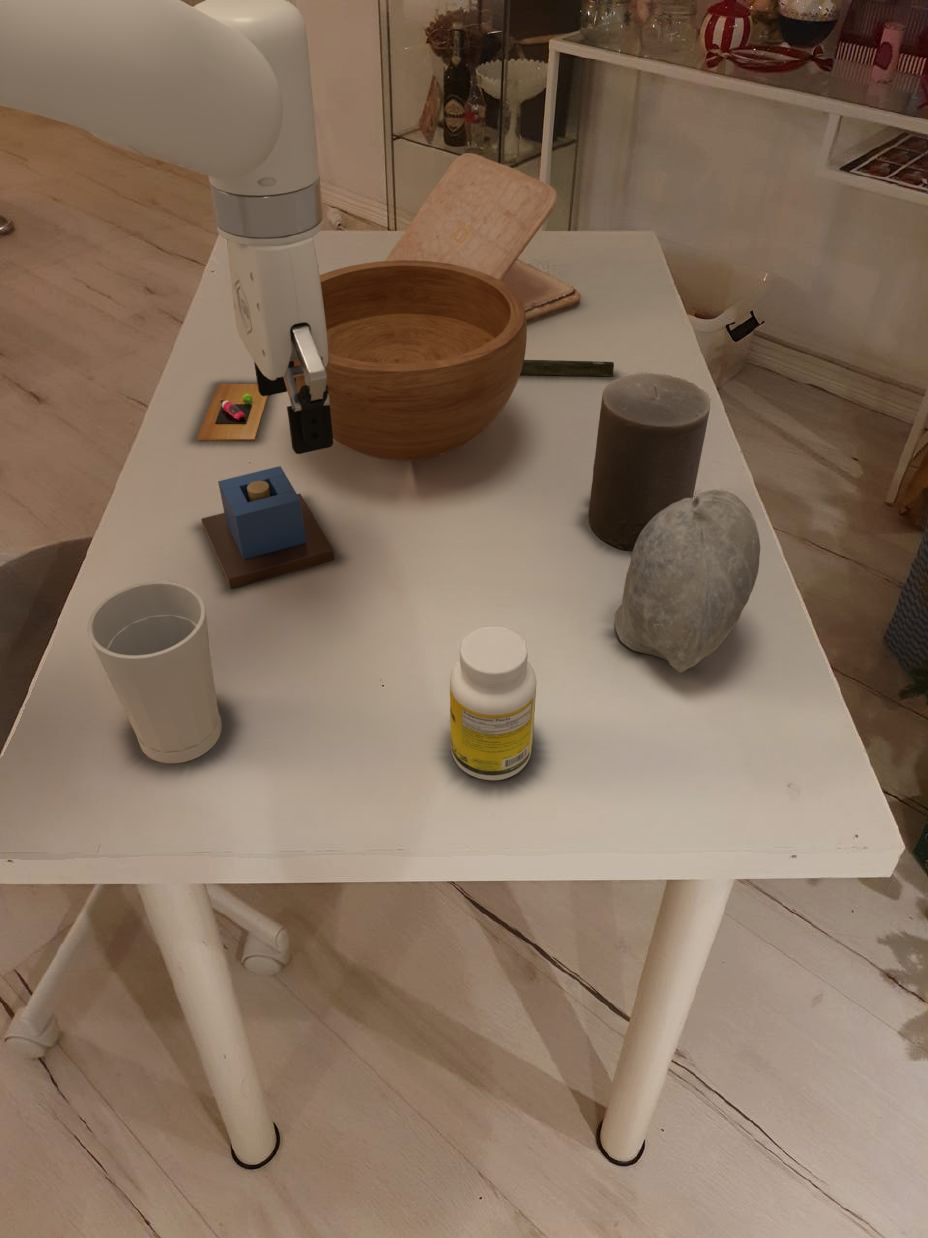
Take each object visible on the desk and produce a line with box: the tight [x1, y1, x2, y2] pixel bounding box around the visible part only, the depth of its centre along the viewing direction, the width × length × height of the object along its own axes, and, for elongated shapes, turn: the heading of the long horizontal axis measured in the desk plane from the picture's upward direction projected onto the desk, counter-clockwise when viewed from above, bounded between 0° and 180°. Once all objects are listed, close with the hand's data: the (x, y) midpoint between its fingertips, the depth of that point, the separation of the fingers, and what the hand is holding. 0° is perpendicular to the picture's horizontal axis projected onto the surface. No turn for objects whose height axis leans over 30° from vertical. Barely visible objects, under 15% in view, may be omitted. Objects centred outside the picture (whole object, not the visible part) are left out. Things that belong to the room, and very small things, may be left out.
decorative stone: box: [614, 489, 761, 673], centre depth 79 cm, size 15×10×15 cm
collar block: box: [217, 465, 306, 560], centre depth 91 cm, size 6×6×5 cm
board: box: [196, 383, 269, 442], centre depth 111 cm, size 6×12×2 cm, turn 0°
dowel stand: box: [200, 481, 335, 589], centre depth 91 cm, size 10×10×7 cm
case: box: [384, 152, 581, 321], centre depth 128 cm, size 20×21×16 cm
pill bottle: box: [449, 625, 537, 781], centre depth 71 cm, size 6×6×11 cm
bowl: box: [294, 260, 528, 462], centre depth 102 cm, size 25×25×15 cm
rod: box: [520, 359, 615, 377], centre depth 117 cm, size 31×1×2 cm, turn 88°
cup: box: [87, 580, 223, 764], centre depth 72 cm, size 8×8×12 cm
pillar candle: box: [587, 371, 712, 552], centre depth 91 cm, size 10×10×15 cm
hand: (295, 419), depth 80 cm, fingers open, 9 cm apart
